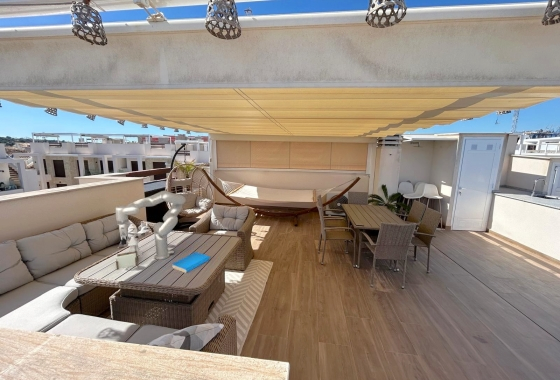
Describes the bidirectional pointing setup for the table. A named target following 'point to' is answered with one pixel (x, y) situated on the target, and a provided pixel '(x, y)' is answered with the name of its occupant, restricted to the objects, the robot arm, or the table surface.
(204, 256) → the book
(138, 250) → the toy gun turret
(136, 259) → the box
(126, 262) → the cover plate
